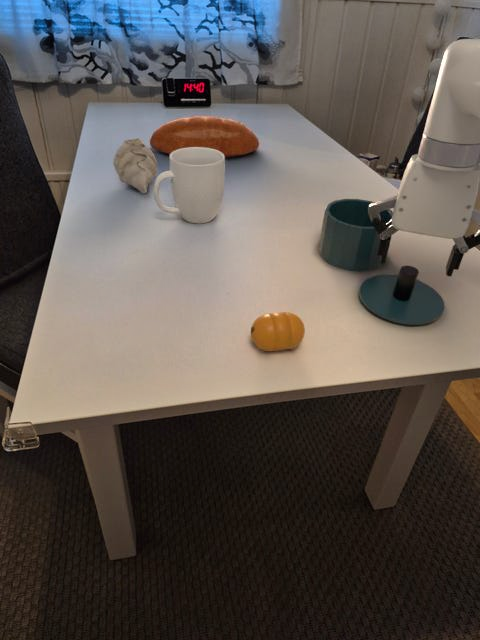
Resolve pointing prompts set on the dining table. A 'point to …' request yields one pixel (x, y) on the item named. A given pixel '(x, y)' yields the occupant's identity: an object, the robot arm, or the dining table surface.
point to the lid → (402, 298)
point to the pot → (351, 235)
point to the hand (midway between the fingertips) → (415, 265)
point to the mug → (194, 183)
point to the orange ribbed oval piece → (277, 331)
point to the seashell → (135, 164)
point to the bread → (205, 135)
